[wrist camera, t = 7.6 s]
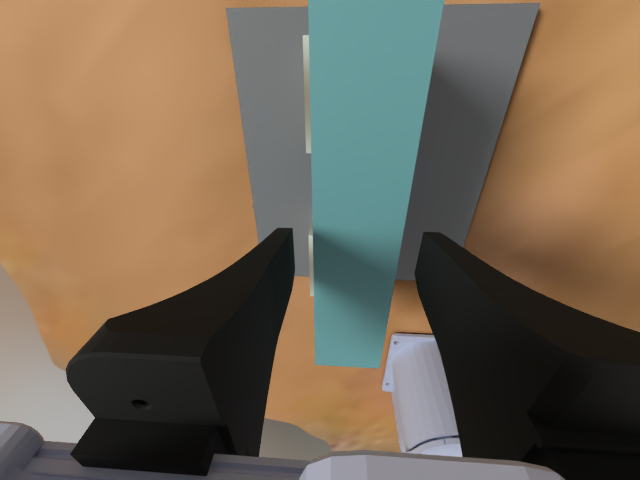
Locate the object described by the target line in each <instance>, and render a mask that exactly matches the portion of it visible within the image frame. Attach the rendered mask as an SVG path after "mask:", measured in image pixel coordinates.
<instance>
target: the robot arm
mask: <svg viewBox="0 0 640 480" xmlns="http://www.w3.org/2000/svg"><path fill="white" fill-rule="evenodd" d="M294 274H295V257H294V241H293V228H277V229H275V230H274V231H273V232H272V233H271V234H270V235H269V236H268V237H266V238H265V239H264V240H263V241H262V242H261V243H260V244H258V245H257V246H256V247H255V248H254V249H252V250H251V251H250V252H249V253H247V254H246V255H245V256H243V257H242V258H241V259H239V260H238V261H237V262H235V263H234V264H233V265H231V266H230V267H228V268H227V269H225V270H223V271H222V272H220V273H218V274H217V275H215V276H213V277H212V278H210V279H208V280H206V281H204V282H202V283H200V284H198V285H196V286H194V287H192V288H190V289H188V290H186V291H184V292H182V293H180V294H177V295H175V296H173V297H171V298H168V299H165V300H163V301H160V302H158V303H155V304H153V305H150V306H147V307H144V308H141V309H138V310H135V311H132V312H129V313H126V314H123V315H120V316H117V317H114V318H110V319H108V320H107V321H106V322H105V323H104V324H103V325H102V326H101V328H100V329H99V330H98V331H97V332H96V333H95V334H94V335H93V336H92V337H91V338H90V340H89V341H88V342H87V343H86V344H85V345H84V346H83V347H82V348H81V349H80V350H79V351H78V353H77V354H76V355H75V356H74V357H73V358H72V359H71V360H70V361H69V363H68V365H67V368H66V374H67V381H68V383H69V384H70V386H71V388H72V389H73V391H74V392H75V393H76V394H77V396H78V397H79V398H80V400H81V401H82V402H83V403H84V404H85V406H86V407H87V408H88V409H89V411H90V412H91V413H92V414H93V415H94V417H95V419H94V420H93V422H92V423H91V425H90V426H89V428H88V429H87V430H86V432H85V433H84V435H83V436H82V438H81V439H80V440H79V442H78V443H65V442H51V441H44V439H43V437H42V436H41V435H40V433H39V432H37V431H36V430H35V429H33V428H32V427H30V426H27V425H25V424H22V423H15V422H3V421H0V480H640V332H637V331H634V330H631V329H628V328H625V327H622V326H619V325H616V324H614V323H611V322H608V321H605V320H603V319H600V318H597V317H594V316H592V315H589V314H587V313H584V312H582V311H579V310H577V309H574V308H572V307H569V306H567V305H565V304H563V303H560V302H558V301H556V300H553V299H551V298H549V297H547V296H545V295H542V294H540V293H538V292H536V291H534V290H532V289H530V288H528V287H526V286H524V285H523V284H521V283H519V282H517V281H515V280H513V279H511V278H509V277H508V276H506V275H504V274H503V273H501V272H499V271H498V270H496V269H494V268H493V267H491V266H490V265H488V264H486V263H485V262H483V261H482V260H480V259H479V258H477V257H476V256H474V255H473V254H471V253H470V252H468V251H467V250H466V249H464V248H463V247H461V246H460V245H458V244H457V243H456V242H454V241H453V240H451V239H450V238H448V237H447V236H445V235H444V234H442V233H440V232H423V236H422V241H421V245H420V250H419V255H418V259H417V264H416V268H415V273H414V274H415V279H416V284H417V289H418V293H419V297H420V299H421V302H422V305H423V308H424V311H425V313H426V316H427V319H428V321H429V324H430V327H431V329H432V332H433V335H423V334H403V333H395V334H393V335H392V337H391V342H390V347H389V352H388V357H387V362H386V368H385V373H384V378H383V383H382V390H383V391H387V392H391V393H392V400H393V406H394V413H395V419H396V426H397V432H398V439H399V445H400V449H401V452H402V453H399V452H385V451H371V450H356V451H336V452H332V453H329V454H327V455H324V456H321V457H319V458H316V459H313V460H312V461H306V460H291V459H279V458H265V457H259V450H260V443H261V435H262V429H263V422H264V416H265V409H266V403H267V396H268V390H269V384H270V378H271V372H272V367H273V361H274V356H275V350H276V345H277V341H278V337H279V333H280V330H281V326H282V323H283V319H284V316H285V313H286V309H287V306H288V302H289V299H290V295H291V292H292V287H293V281H294Z"/></svg>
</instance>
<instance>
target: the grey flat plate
mask: <svg viewBox="0 0 640 480" xmlns="http://www.w3.org/2000/svg"><path fill="white" fill-rule="evenodd" d="M539 6H540V3H514V4H450V5H443V10H442V16H441V22H440V27H439V33H438V39H437V44H436V50H435V56H434V61H433V67H432V73H431V78H430V84H429V90H428V95H427V101H426V107H425V112H424V118H423V124H422V130H421V135H420V141H419V147H418V152H417V158H416V164H415V169H414V175H413V181H412V186H411V192H410V198H409V203H408V209H407V215H406V220H405V226H404V232H403V237H402V243H401V249H400V254H399V260H398V266H397V271H396V277H395V280H414V281H416V279H415V274H414V273H415V268H416V264H417V259H418V255H419V250H420V245H421V241H422V236H423V232H440V233H442V234H444V235H445V236H447V237H448V238H450V239H451V240H453V241H454V242H456V243H457V244H458V245H460V246H461V247H464V244H465V240H466V237H467V234H468V231H469V228H470V224H471V221H472V218H473V215H474V212H475V209H476V205H477V202H478V199H479V196H480V193H481V190H482V186H483V183H484V180H485V177H486V174H487V171H488V167H489V164H490V161H491V158H492V155H493V152H494V148H495V145H496V142H497V139H498V136H499V132H500V129H501V126H502V123H503V120H504V117H505V113H506V110H507V107H508V104H509V101H510V98H511V94H512V91H513V88H514V85H515V82H516V79H517V75H518V72H519V69H520V66H521V63H522V60H523V56H524V53H525V50H526V47H527V44H528V40H529V37H530V34H531V31H532V28H533V25H534V21H535V18H536V15H537V12H538V9H539ZM226 12H227V19H228V26H229V33H230V40H231V48H232V55H233V62H234V69H235V76H236V84H237V91H238V98H239V105H240V112H241V119H242V127H243V134H244V141H245V148H246V155H247V162H248V170H249V177H250V184H251V191H252V198H253V206H254V213H255V220H256V227H257V234H258V241H259V244H260V243H261V242H262V241H263V240H264V239H265V238H266V237H268V236H269V235H270V234H271V233H272V232H273V231H274V230H275V229H277V228H293V241H294V257H295V274H294V276H309V277H310V272H309V237H308V235H309V230H310V225H311V220H312V171H311V153H306V134H305V99H304V65H303V35H309V16H308V7H261V8H226Z"/></svg>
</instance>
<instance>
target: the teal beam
mask: <svg viewBox="0 0 640 480" xmlns="http://www.w3.org/2000/svg"><path fill="white" fill-rule="evenodd" d="M443 5H444V0H308V16H309V68H310V119H311V171H312V222H313V273H314V325H315V365H328V366H346V367H364V368H380V362H381V357H382V351H383V345H384V340H385V334H386V328H387V323H388V317H389V311H390V306H391V300H392V294H393V289H394V283H395V277H396V271H397V266H398V260H399V254H400V249H401V243H402V237H403V232H404V226H405V220H406V215H407V209H408V203H409V198H410V192H411V186H412V181H413V175H414V169H415V164H416V158H417V152H418V147H419V141H420V135H421V130H422V124H423V118H424V112H425V107H426V101H427V95H428V90H429V84H430V78H431V73H432V67H433V61H434V56H435V50H436V44H437V39H438V33H439V27H440V22H441V16H442V10H443Z"/></svg>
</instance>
